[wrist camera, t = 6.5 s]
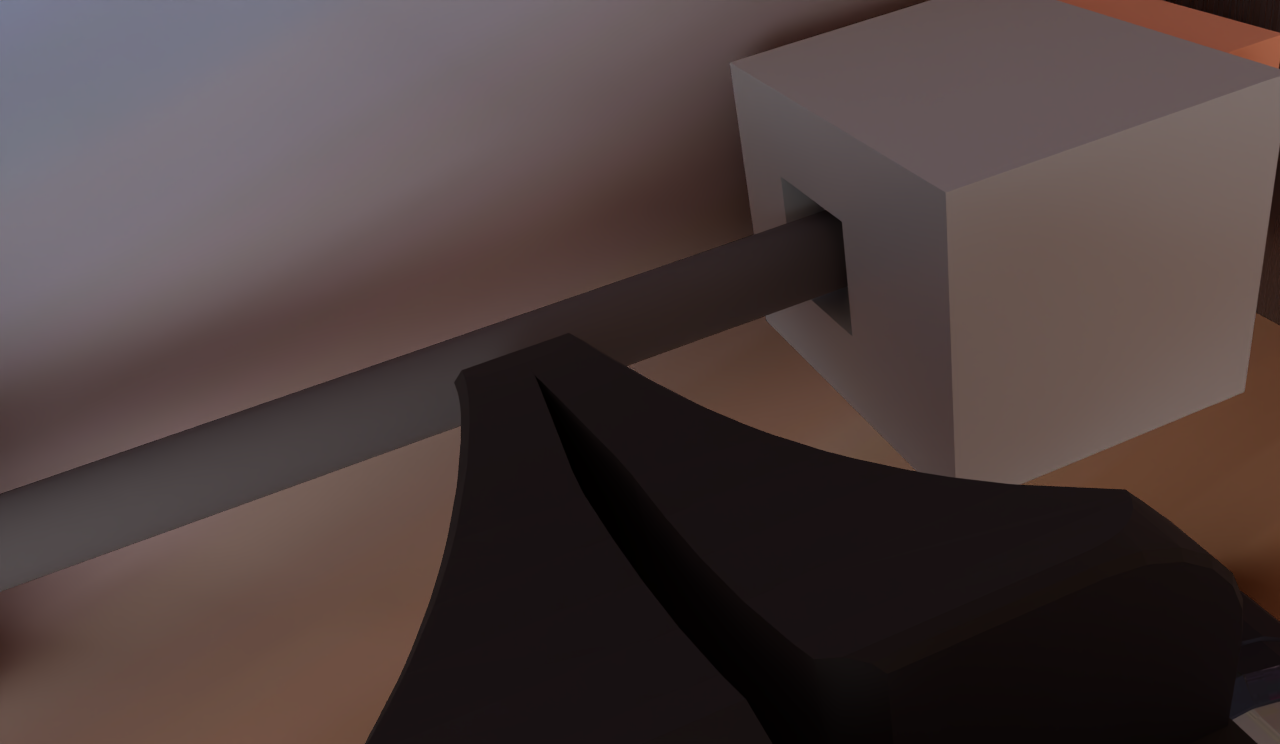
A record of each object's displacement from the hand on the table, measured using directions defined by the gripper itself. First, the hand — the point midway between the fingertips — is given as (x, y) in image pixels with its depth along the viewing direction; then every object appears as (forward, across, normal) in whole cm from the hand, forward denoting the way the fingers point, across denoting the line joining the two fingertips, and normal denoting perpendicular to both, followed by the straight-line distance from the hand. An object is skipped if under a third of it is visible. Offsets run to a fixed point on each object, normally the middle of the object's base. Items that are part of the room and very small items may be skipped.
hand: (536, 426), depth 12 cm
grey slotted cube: (+4, -6, 0) cm, 7 cm away
